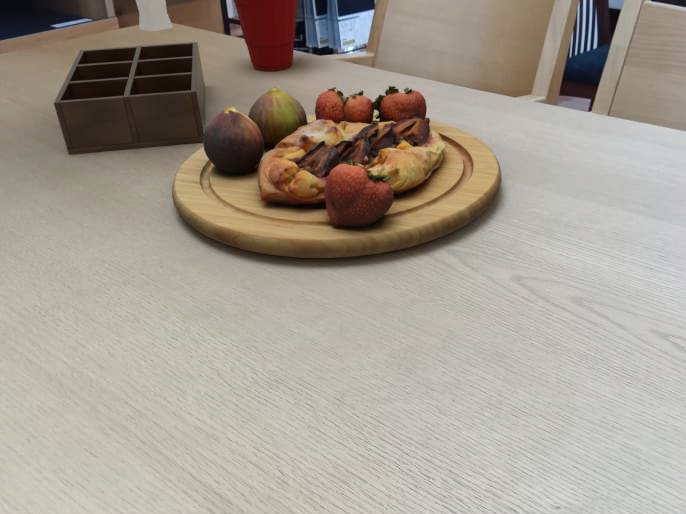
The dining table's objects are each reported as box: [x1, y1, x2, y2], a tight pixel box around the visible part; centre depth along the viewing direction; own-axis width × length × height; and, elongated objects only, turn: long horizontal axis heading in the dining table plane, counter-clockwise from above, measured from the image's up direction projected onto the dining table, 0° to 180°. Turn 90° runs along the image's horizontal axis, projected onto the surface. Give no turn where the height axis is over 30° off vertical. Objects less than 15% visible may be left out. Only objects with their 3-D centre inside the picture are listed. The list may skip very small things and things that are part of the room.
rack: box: [53, 41, 206, 155], centre depth 91 cm, size 15×22×6 cm
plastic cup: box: [233, 0, 299, 72], centre depth 106 cm, size 11×11×12 cm
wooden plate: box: [171, 85, 502, 259], centre depth 72 cm, size 32×32×8 cm
